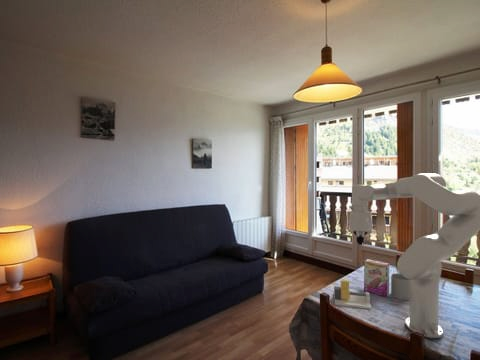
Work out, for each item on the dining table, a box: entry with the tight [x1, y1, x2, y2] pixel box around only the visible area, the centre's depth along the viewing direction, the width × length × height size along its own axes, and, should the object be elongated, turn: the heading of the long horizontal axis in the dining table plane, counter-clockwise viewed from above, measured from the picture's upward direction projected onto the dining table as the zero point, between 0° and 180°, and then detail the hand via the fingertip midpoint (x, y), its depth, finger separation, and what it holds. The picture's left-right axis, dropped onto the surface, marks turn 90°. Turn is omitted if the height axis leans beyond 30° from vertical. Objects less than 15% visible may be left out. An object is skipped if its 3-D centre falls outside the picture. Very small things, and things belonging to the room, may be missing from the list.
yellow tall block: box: [339, 279, 351, 299], centre depth 126 cm, size 4×4×8 cm
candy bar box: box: [363, 258, 390, 298], centre depth 134 cm, size 11×5×16 cm, turn 47°
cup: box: [390, 273, 410, 301], centre depth 130 cm, size 8×8×10 cm
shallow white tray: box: [333, 285, 373, 310], centre depth 126 cm, size 11×16×6 cm
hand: (360, 243), depth 130 cm, fingers closed
